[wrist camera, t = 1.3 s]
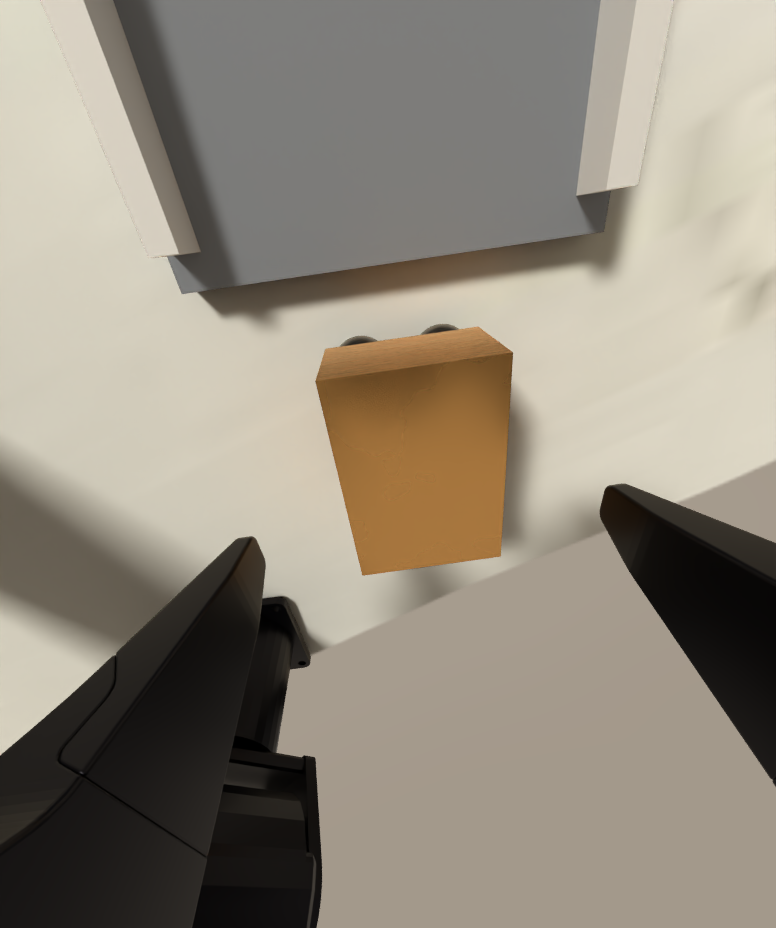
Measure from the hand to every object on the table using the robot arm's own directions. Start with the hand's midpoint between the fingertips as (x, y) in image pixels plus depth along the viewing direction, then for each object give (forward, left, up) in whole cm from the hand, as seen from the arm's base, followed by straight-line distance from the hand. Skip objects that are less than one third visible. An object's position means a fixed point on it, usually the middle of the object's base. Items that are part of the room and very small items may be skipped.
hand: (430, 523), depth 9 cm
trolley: (0, 0, -7) cm, 7 cm away
